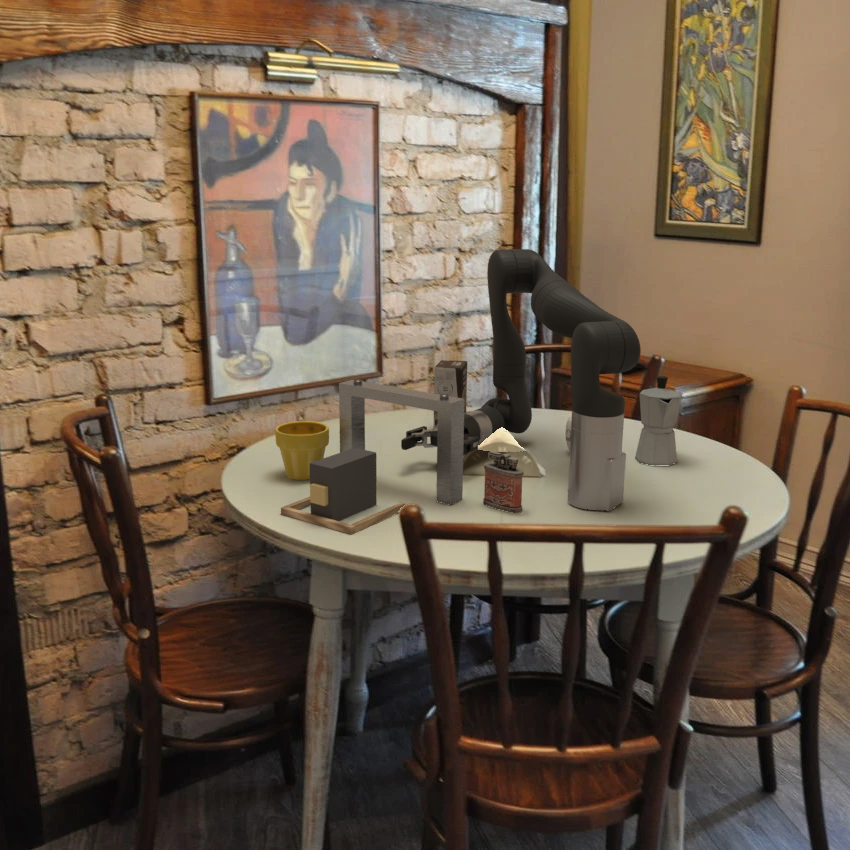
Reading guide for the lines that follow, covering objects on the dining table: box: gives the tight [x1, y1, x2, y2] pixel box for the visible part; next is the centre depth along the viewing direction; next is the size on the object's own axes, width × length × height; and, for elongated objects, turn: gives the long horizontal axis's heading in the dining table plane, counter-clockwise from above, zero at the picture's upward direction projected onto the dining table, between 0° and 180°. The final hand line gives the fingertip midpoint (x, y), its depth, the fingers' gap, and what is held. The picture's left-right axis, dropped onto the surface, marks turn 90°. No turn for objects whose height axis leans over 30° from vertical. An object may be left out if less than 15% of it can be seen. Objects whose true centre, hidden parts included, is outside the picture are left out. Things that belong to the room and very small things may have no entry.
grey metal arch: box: [338, 379, 464, 506], centre depth 183 cm, size 26×4×20 cm, turn 54°
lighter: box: [482, 450, 525, 514], centre depth 175 cm, size 8×3×10 cm, turn 48°
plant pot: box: [274, 420, 330, 481], centre depth 192 cm, size 10×10×10 cm
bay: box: [280, 496, 406, 535], centre depth 173 cm, size 16×15×1 cm
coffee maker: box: [634, 375, 683, 466], centre depth 204 cm, size 15×9×18 cm, turn 0°
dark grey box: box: [309, 448, 377, 522], centre depth 172 cm, size 5×13×10 cm, turn 144°
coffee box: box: [432, 359, 468, 429], centre depth 223 cm, size 9×6×16 cm
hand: (420, 448), depth 190 cm, fingers open, 8 cm apart
